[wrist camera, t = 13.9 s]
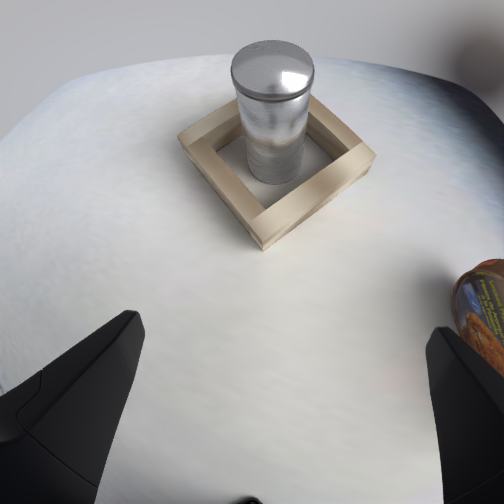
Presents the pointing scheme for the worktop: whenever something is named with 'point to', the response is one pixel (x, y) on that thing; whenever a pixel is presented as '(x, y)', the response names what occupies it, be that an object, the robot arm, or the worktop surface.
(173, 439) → the worktop surface
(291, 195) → the collar
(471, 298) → the tin
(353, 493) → the worktop surface
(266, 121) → the silver metal canister
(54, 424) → the robot arm
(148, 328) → the worktop surface
